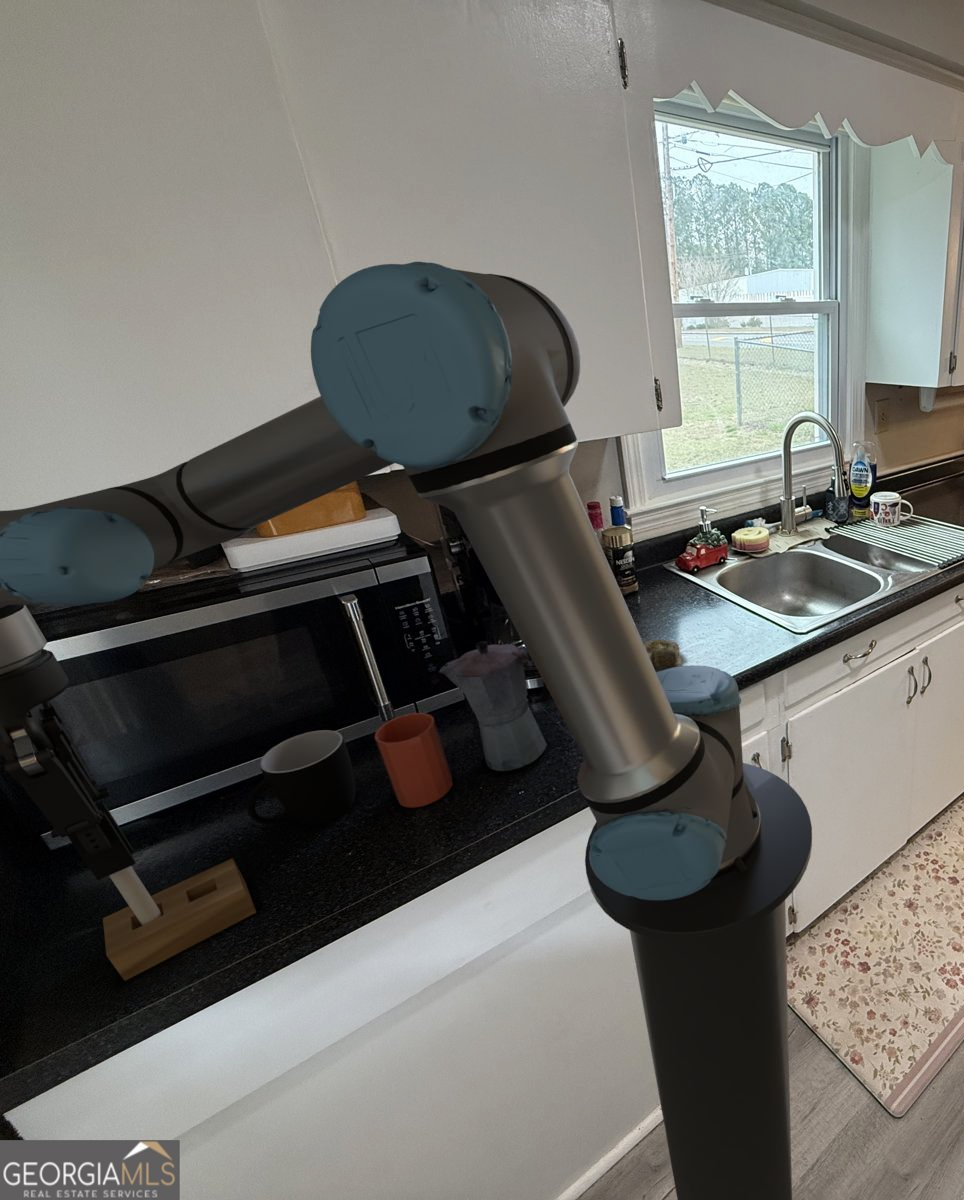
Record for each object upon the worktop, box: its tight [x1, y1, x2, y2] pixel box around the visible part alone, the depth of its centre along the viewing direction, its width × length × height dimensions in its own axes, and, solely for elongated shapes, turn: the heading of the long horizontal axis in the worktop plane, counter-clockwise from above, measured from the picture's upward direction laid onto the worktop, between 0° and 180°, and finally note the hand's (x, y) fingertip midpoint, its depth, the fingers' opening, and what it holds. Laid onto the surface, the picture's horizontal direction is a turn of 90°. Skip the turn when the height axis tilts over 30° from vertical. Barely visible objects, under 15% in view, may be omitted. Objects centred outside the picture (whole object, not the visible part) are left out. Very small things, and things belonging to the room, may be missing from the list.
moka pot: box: [438, 640, 551, 772], centre depth 93 cm, size 10×15×20 cm, turn 110°
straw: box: [108, 866, 163, 926], centre depth 63 cm, size 2×2×18 cm
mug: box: [246, 729, 356, 826], centre depth 83 cm, size 12×9×10 cm
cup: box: [373, 712, 453, 808], centre depth 87 cm, size 7×7×11 cm
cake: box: [643, 639, 684, 672], centre depth 121 cm, size 10×10×5 cm
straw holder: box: [102, 857, 257, 982], centre depth 68 cm, size 6×11×4 cm, turn 138°
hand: (115, 863), depth 63 cm, fingers closed on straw, 1 cm apart
